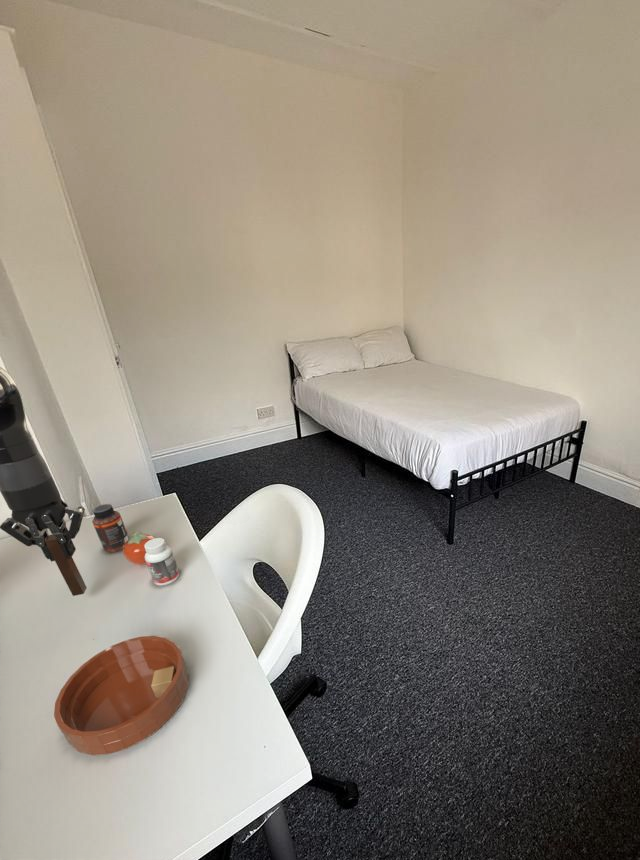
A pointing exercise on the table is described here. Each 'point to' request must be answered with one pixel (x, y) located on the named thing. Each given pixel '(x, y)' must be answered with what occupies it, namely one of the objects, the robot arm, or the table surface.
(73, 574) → the stick
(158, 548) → the pill bottle
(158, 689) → the block
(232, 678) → the table surface
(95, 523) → the supplement bottle
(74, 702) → the bowl
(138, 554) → the tomato
